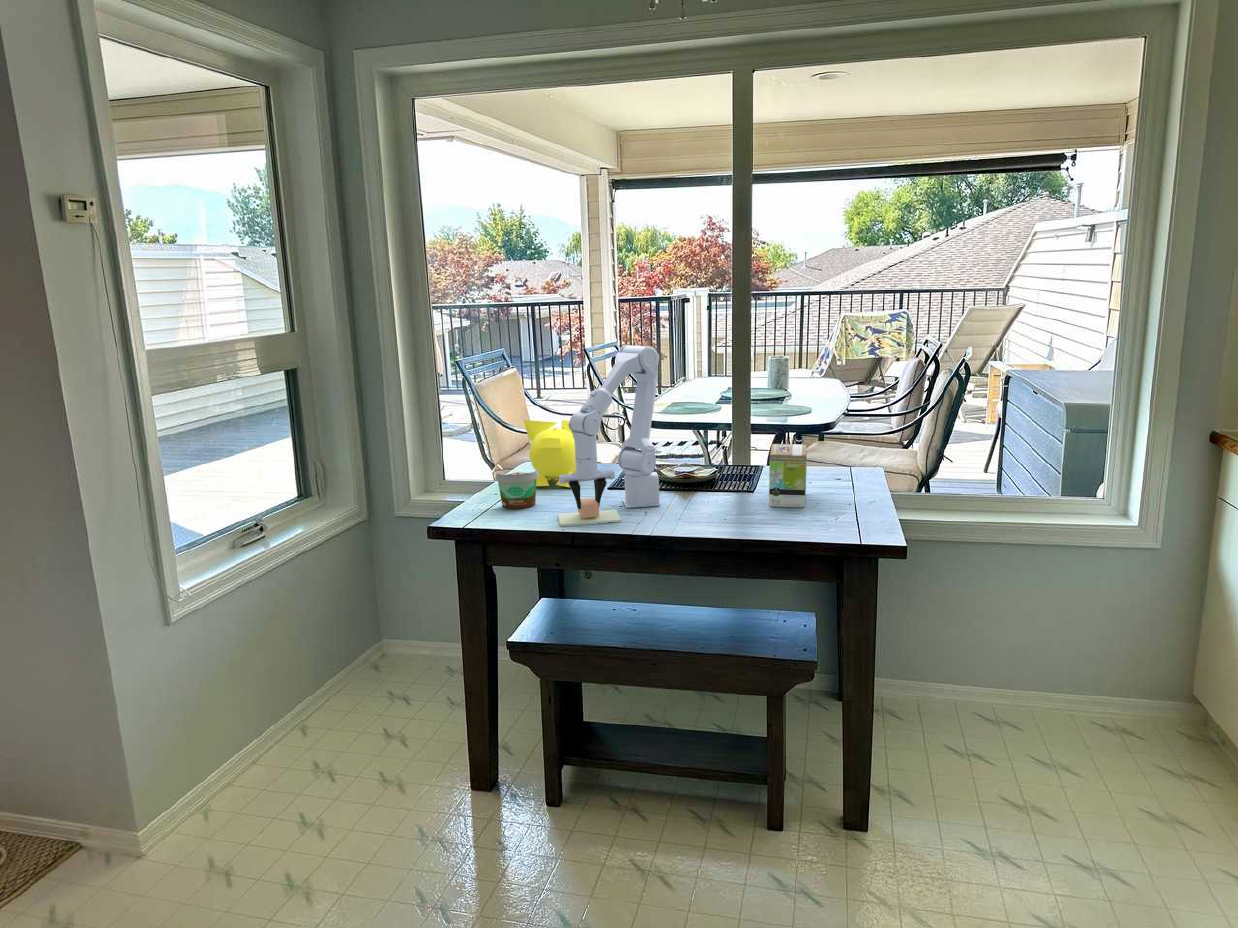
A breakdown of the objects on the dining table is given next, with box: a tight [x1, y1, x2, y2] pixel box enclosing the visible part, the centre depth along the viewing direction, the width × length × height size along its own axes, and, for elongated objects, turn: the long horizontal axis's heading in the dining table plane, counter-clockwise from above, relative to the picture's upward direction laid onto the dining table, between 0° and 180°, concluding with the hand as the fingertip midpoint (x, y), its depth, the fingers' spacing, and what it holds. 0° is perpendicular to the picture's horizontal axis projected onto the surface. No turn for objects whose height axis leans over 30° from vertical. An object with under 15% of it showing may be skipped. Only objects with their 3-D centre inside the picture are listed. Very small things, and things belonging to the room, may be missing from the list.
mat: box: [557, 509, 622, 528], centre depth 233 cm, size 16×10×1 cm, turn 97°
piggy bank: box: [523, 419, 576, 488], centre depth 271 cm, size 20×20×19 cm
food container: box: [494, 469, 539, 511], centre depth 245 cm, size 12×6×10 cm, turn 101°
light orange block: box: [577, 497, 600, 518], centre depth 233 cm, size 6×4×4 cm
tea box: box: [768, 443, 808, 508], centre depth 242 cm, size 15×10×15 cm, turn 168°
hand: (588, 507), depth 232 cm, fingers closed on light orange block, 4 cm apart
